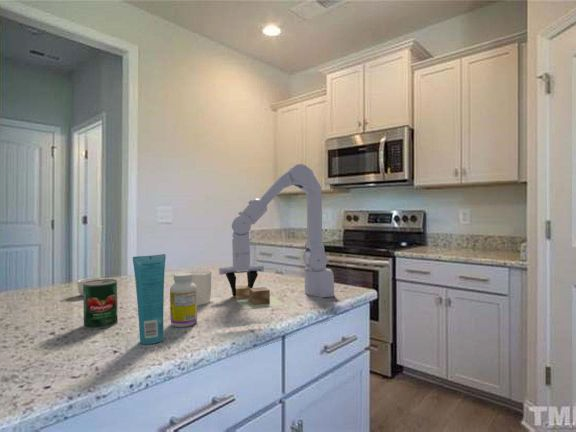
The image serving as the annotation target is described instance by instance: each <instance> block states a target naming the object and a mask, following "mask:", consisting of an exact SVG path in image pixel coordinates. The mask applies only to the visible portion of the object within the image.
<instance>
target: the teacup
mask: <svg viewBox="0 0 576 432" xmlns="http://www.w3.org/2000/svg"><path fill="white" fill-rule="evenodd" d="M101 279H103V278H102V277H88V278H82V279H79V280H77V290H78V293H79V295H80V296H82V297H83V283H85V282H88V281H93V280H101Z"/></svg>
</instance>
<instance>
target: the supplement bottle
mask: <svg viewBox="0 0 576 432" xmlns="http://www.w3.org/2000/svg"><path fill="white" fill-rule="evenodd" d="M192 278H193V274H192V273H187V272H179V273H174V274H173V281H174V283H173V284H172V285H170V288H169V303H170V304H169V306H170V307H169V308H170V309H169V311H170V325H171V326H172V327H176V328H188V327H191V326H194V325H196V324H197V322H198V305H197V286H196V284H194V283H192Z"/></svg>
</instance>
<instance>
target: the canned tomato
mask: <svg viewBox="0 0 576 432" xmlns="http://www.w3.org/2000/svg"><path fill="white" fill-rule="evenodd" d="M82 298H83V300H82V301H83V305H82V306H83V328H85V329H87V330H101V329H107V328H110V327H113V326H115V325H117V324H118V323H119V321H118V317H119V316H118V315H119V314H118V280H117V279H114V278H102V279H101V280H93V281H88V282H85V283H83V296H82Z"/></svg>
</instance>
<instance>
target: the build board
mask: <svg viewBox="0 0 576 432" xmlns="http://www.w3.org/2000/svg"><path fill="white" fill-rule="evenodd" d="M235 301H236V302H237V303H238V304H239V305H240V306H241V307H242V308H243V309H244V310H253V309H262V308H268V307H269V308H270V307H272V308H273V307H280V306H285V304H284V303H282V302H281V301H280V300H278V299H277V298H275V297H274V296H271V295H270V303H269V304H259V305H253V304H252V303H251V302H250V301H249V298H238V299H235Z"/></svg>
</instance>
